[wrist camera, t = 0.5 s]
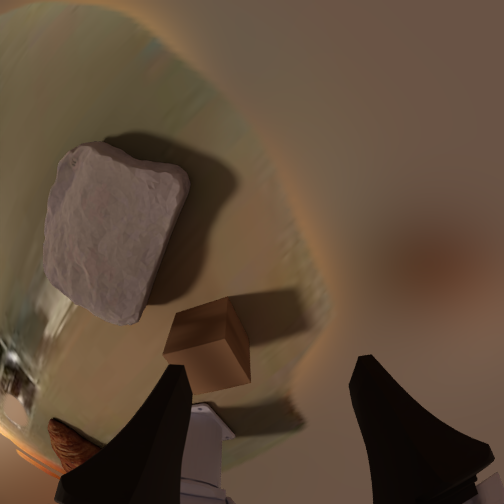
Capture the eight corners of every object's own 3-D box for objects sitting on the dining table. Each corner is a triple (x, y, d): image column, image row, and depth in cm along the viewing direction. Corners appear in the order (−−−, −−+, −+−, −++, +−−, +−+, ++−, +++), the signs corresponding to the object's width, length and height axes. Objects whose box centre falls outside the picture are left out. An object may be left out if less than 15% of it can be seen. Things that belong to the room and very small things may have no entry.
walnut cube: (200, 351, 23) (194, 395, 18) (176, 312, 21) (162, 354, 17) (248, 338, 23) (250, 382, 18) (227, 296, 21) (224, 338, 16)
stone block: (67, 259, 21) (154, 315, 21) (31, 277, 17) (126, 347, 17) (100, 130, 18) (208, 176, 18) (58, 125, 13) (181, 177, 13)
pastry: (47, 437, 34) (36, 465, 26) (52, 413, 29) (35, 449, 22) (119, 474, 38) (113, 503, 31) (142, 460, 34) (134, 498, 26)
